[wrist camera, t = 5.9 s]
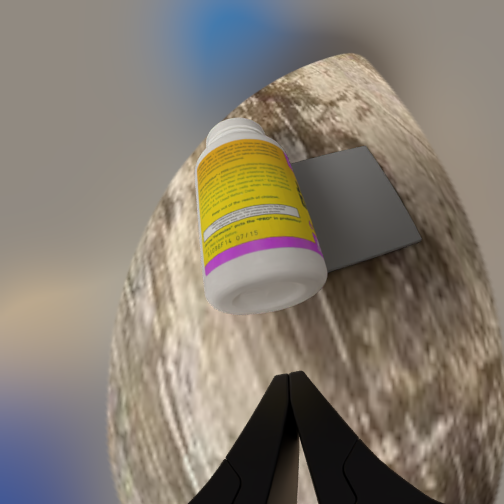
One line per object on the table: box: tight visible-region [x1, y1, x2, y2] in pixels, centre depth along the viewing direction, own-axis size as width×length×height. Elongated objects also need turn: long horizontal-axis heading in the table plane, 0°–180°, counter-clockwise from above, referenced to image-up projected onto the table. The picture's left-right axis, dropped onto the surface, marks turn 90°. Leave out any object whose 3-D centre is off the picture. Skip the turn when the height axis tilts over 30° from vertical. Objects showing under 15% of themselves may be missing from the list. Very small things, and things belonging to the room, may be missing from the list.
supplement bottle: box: [195, 118, 327, 315], centre depth 17 cm, size 7×7×13 cm
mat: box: [291, 146, 422, 273], centre depth 20 cm, size 10×13×1 cm
